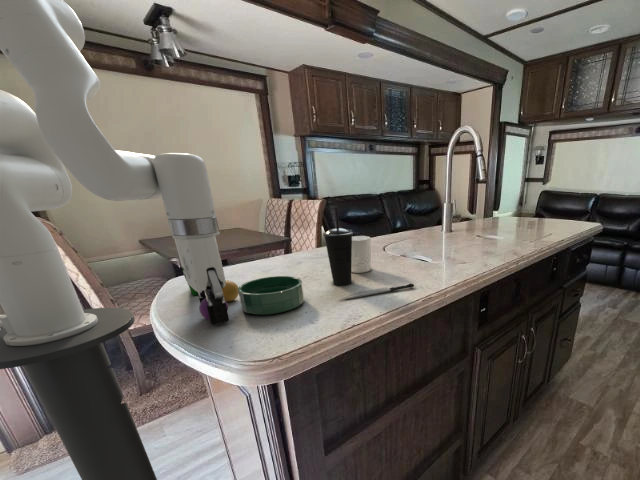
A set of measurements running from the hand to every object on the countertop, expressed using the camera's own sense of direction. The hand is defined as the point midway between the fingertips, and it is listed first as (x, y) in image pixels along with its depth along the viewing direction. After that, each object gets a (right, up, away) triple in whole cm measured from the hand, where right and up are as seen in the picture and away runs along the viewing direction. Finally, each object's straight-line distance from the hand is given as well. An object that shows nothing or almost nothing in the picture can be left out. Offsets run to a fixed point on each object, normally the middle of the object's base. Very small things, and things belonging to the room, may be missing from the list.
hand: (216, 317), depth 64 cm
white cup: (+25, +13, +35) cm, 45 cm away
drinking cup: (+22, +8, +23) cm, 33 cm away
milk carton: (-13, +6, +20) cm, 25 cm away
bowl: (+9, +2, +8) cm, 12 cm away
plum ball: (0, +2, -1) cm, 2 cm away
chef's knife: (+32, +5, +15) cm, 36 cm away
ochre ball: (-3, +6, +10) cm, 12 cm away
